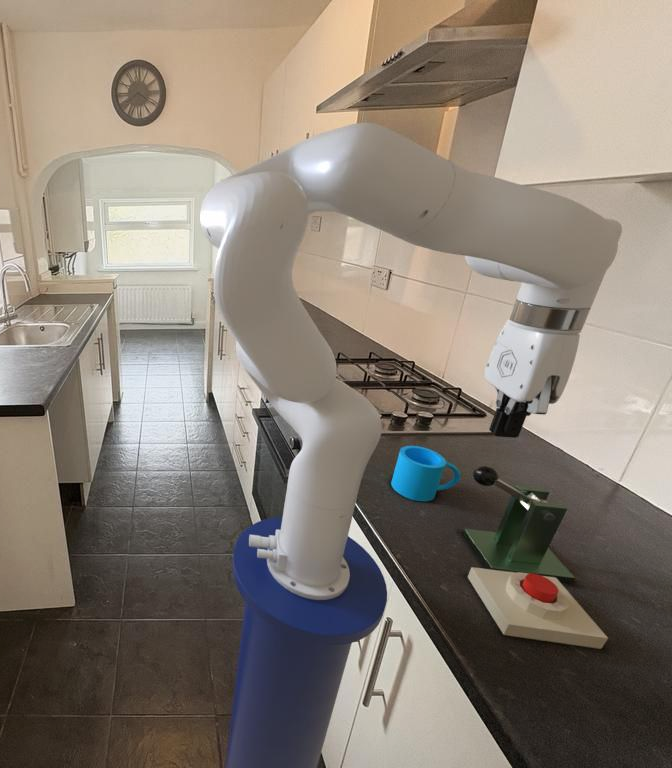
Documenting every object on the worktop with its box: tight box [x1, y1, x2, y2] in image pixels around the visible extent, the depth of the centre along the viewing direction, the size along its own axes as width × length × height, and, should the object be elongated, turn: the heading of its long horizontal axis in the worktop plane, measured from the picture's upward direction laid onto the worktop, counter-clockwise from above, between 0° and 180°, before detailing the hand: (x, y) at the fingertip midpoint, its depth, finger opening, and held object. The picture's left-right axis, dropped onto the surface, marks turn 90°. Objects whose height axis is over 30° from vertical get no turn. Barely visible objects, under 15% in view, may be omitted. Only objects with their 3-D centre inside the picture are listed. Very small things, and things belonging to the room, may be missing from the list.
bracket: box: [462, 485, 576, 584], centre depth 68 cm, size 12×9×13 cm
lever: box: [472, 465, 549, 510], centre depth 66 cm, size 13×3×3 cm, turn 82°
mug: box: [390, 445, 461, 502], centre depth 86 cm, size 12×8×8 cm
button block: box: [467, 566, 609, 650], centre depth 61 cm, size 12×10×4 cm
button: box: [522, 574, 558, 603], centre depth 60 cm, size 4×4×2 cm
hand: (503, 434), depth 63 cm, fingers closed
